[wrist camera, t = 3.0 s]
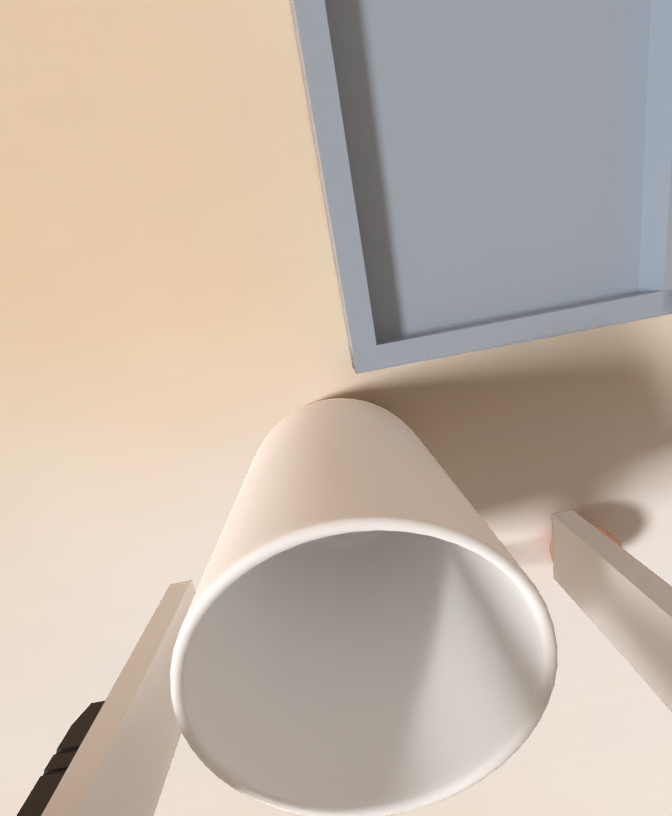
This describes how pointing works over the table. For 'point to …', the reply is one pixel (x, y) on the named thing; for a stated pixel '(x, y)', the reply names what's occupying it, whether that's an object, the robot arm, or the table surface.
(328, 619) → the mug
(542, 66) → the tray
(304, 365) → the table surface
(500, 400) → the table surface
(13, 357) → the table surface
